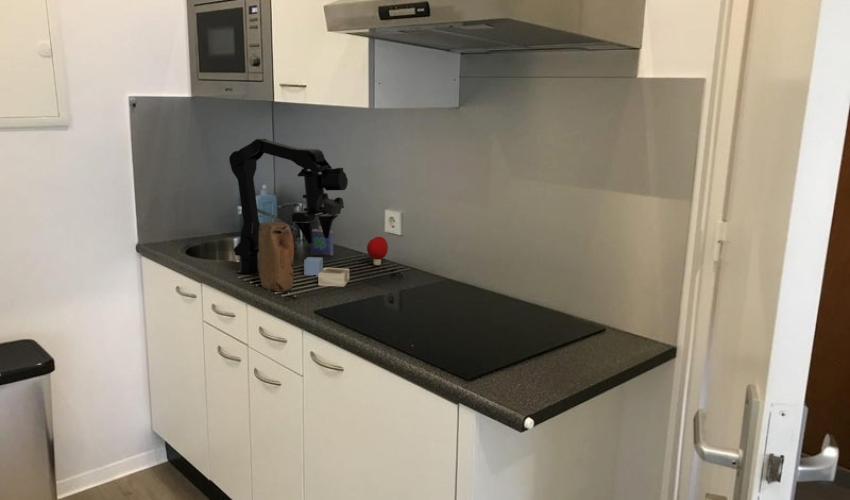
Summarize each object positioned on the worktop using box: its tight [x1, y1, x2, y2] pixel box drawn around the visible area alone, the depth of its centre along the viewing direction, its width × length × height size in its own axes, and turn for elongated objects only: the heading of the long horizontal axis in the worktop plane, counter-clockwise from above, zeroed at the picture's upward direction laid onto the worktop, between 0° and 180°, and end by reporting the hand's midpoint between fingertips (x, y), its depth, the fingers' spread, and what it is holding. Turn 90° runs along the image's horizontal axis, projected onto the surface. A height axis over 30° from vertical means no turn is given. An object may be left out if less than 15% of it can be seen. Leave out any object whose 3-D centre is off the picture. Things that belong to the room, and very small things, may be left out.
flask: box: [309, 225, 334, 257], centre depth 250 cm, size 9×3×11 cm, turn 72°
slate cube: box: [303, 256, 324, 277], centre depth 223 cm, size 5×5×5 cm
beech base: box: [317, 267, 350, 288], centre depth 212 cm, size 8×8×4 cm
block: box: [258, 221, 295, 292], centre depth 203 cm, size 11×8×20 cm
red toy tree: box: [366, 236, 389, 267], centre depth 234 cm, size 9×7×10 cm
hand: (318, 240), depth 211 cm, fingers open, 9 cm apart
